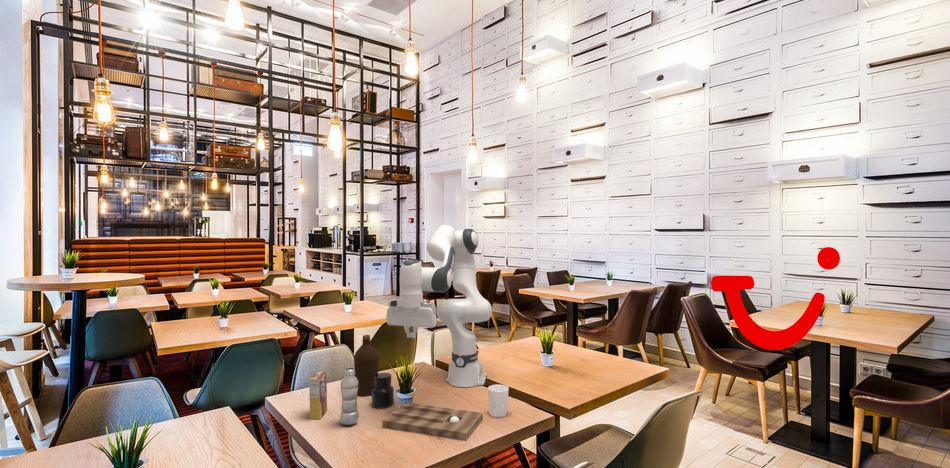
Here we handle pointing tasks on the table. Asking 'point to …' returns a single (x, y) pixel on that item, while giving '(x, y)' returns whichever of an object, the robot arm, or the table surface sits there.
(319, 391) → the candy box
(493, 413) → the white cup
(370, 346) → the olive oil
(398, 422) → the board
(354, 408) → the plastic bottle
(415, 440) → the table surface
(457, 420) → the ball
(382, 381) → the ink bottle
